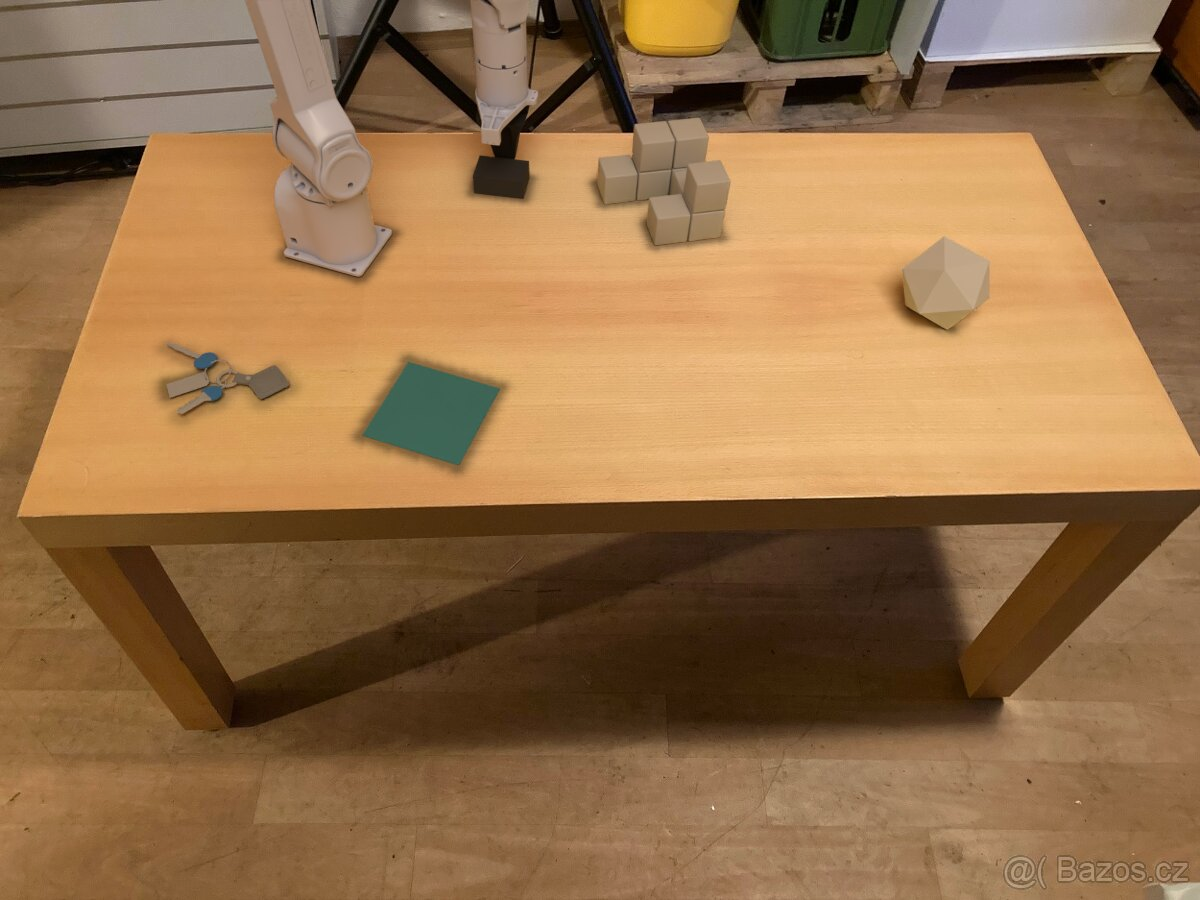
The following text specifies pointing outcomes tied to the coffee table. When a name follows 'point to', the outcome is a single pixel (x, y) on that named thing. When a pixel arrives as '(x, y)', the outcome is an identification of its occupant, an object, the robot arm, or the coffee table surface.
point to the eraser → (501, 176)
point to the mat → (432, 413)
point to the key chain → (259, 382)
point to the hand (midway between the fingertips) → (505, 160)
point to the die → (946, 282)
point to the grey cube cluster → (670, 180)
